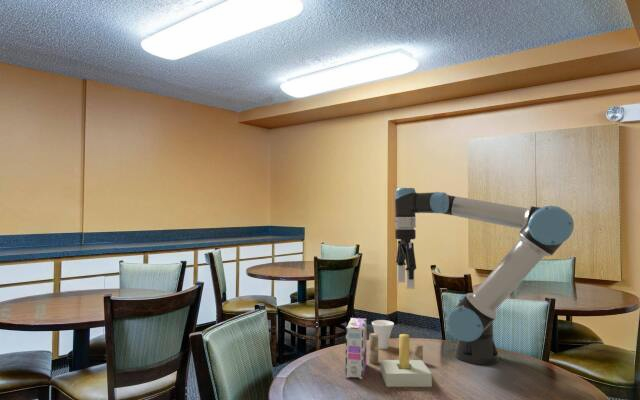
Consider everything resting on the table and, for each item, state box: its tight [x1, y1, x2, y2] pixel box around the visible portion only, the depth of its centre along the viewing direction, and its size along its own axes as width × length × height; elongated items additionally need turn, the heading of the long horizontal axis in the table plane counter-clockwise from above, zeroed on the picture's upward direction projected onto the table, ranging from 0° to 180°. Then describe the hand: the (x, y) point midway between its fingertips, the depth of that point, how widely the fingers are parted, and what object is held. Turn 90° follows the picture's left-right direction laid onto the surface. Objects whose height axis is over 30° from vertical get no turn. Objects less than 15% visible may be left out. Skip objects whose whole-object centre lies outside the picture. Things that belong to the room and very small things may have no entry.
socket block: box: [380, 359, 433, 388], centre depth 134 cm, size 14×12×4 cm
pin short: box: [413, 343, 424, 362], centre depth 150 cm, size 3×3×6 cm
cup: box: [371, 319, 395, 350], centre depth 166 cm, size 9×9×10 cm
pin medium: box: [368, 332, 379, 365], centre depth 149 cm, size 3×3×10 cm
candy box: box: [345, 317, 367, 380], centre depth 141 cm, size 14×6×16 cm, turn 168°
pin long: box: [398, 333, 410, 369], centre depth 135 cm, size 3×3×14 cm
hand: (405, 285), depth 156 cm, fingers open, 13 cm apart
